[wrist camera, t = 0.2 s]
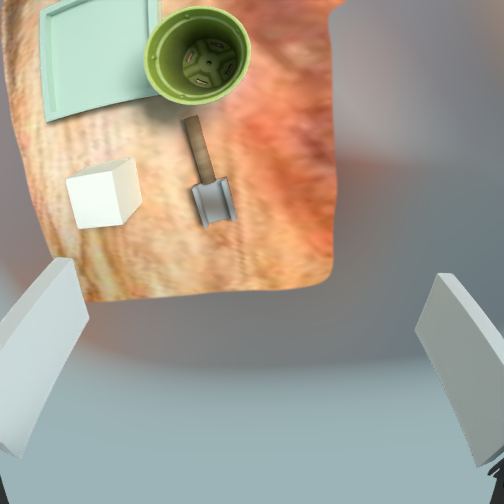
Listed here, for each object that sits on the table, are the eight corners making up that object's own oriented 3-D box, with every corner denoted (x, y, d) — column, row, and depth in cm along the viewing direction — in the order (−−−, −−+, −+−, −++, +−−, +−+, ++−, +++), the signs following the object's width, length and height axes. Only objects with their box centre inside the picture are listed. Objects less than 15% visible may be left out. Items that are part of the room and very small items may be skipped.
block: (93, 163, 35) (65, 179, 29) (134, 156, 35) (111, 170, 29) (102, 206, 38) (77, 229, 32) (142, 202, 38) (122, 224, 32)
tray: (48, 12, 24) (39, 10, 23) (160, -26, 24) (155, -31, 22) (54, 120, 32) (46, 122, 30) (167, 93, 31) (162, 93, 30)
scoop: (175, 121, 33) (171, 123, 31) (208, 111, 33) (206, 112, 31) (206, 221, 39) (204, 227, 37) (237, 214, 39) (236, 220, 37)
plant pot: (156, 90, 31) (129, 90, 24) (185, 17, 27) (165, -4, 19) (233, 113, 33) (227, 118, 25) (264, 39, 29) (267, 22, 21)
